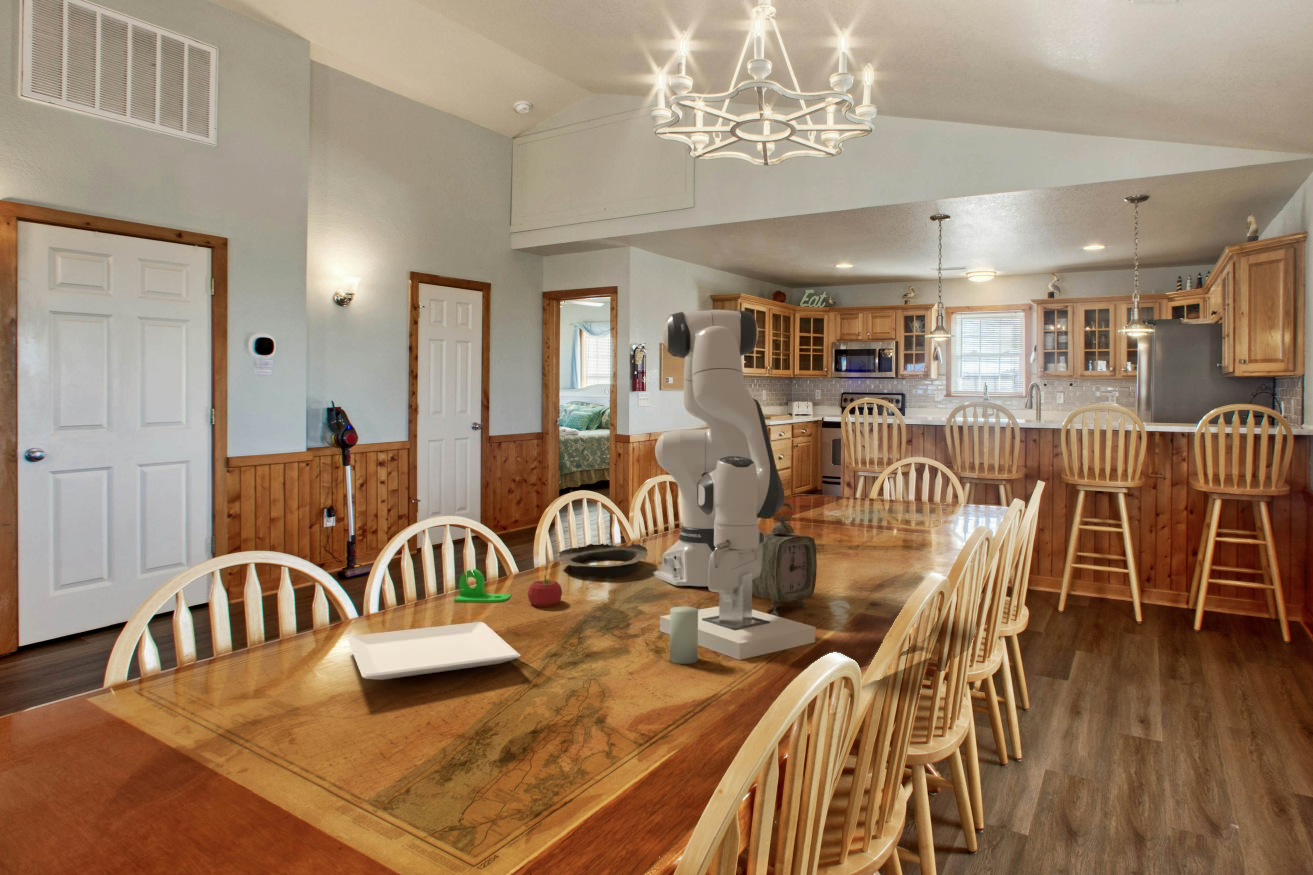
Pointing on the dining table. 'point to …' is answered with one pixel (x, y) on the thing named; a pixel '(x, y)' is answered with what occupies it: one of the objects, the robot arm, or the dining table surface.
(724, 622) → the square peg
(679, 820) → the dining table surface
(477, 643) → the plate
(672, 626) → the round peg
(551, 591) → the tomato
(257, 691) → the dining table surface
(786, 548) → the tabletop clock
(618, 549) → the stone bowl
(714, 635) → the socket board
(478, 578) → the mechanical part
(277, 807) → the dining table surface
